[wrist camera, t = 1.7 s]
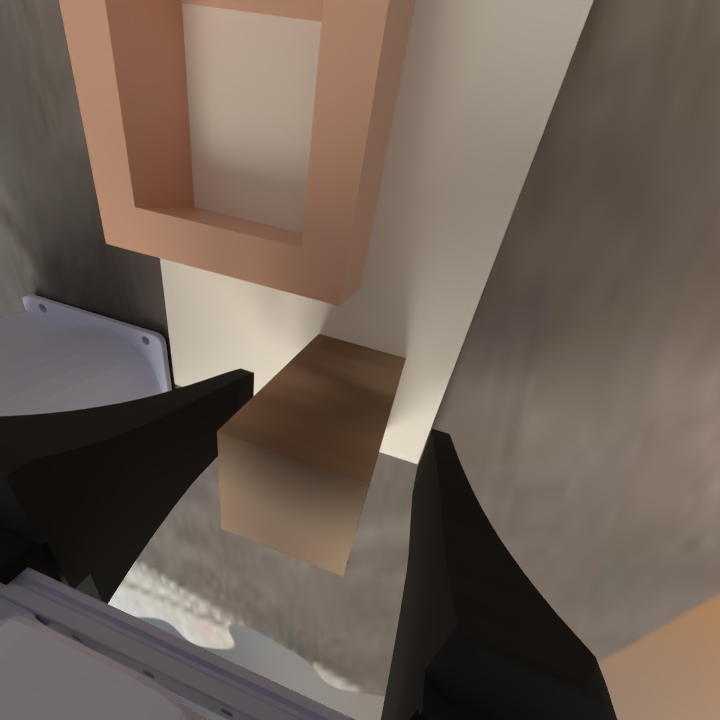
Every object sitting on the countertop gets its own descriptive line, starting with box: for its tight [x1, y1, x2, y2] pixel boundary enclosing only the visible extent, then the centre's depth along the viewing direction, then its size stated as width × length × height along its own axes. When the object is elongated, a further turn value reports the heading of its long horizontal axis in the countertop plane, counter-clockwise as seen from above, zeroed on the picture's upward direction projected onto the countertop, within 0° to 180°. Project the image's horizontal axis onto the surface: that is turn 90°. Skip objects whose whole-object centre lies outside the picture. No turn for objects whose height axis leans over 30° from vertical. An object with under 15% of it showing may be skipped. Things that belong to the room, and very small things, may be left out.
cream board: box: [160, 0, 593, 464], centre depth 13 cm, size 14×17×1 cm
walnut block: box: [217, 334, 406, 576], centre depth 12 cm, size 4×4×7 cm
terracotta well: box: [59, 0, 415, 306], centre depth 10 cm, size 9×9×3 cm
